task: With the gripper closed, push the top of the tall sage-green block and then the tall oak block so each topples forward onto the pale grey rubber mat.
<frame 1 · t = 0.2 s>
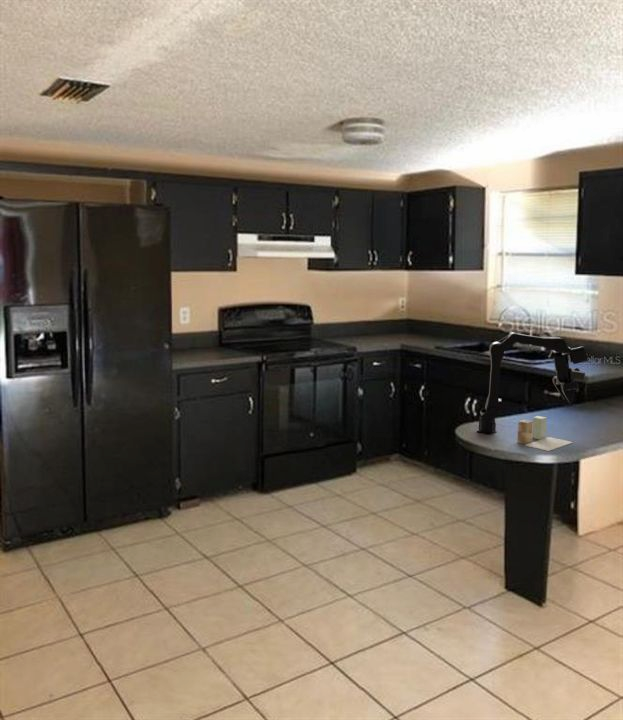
hand: (568, 401, 295), 15 cm above the worktop, tool pointing down, fingers open, 9 cm apart
sage block: (538, 437, 294), on the worktop
mat: (548, 444, 284), on the worktop
oak block: (524, 442, 286), on the worktop
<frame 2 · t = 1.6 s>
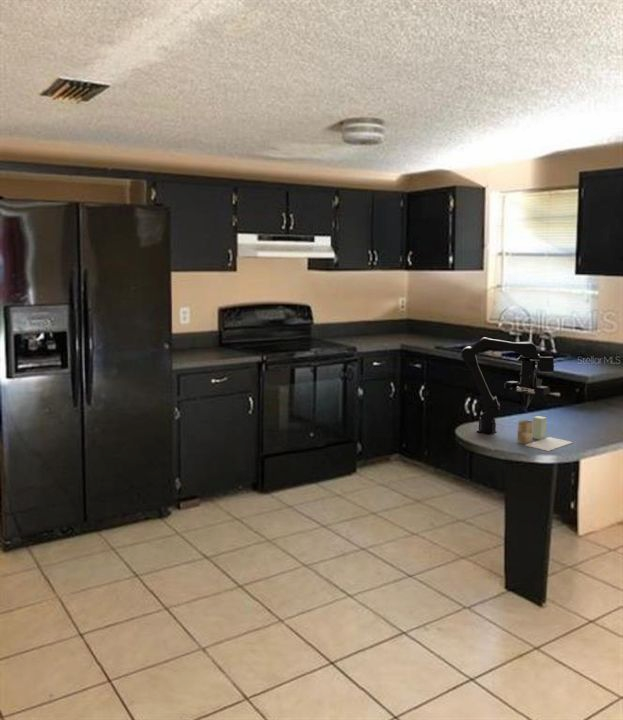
hand: (525, 407, 297), 12 cm above the worktop, tool pointing down, fingers closed
nothing on the worktop moved.
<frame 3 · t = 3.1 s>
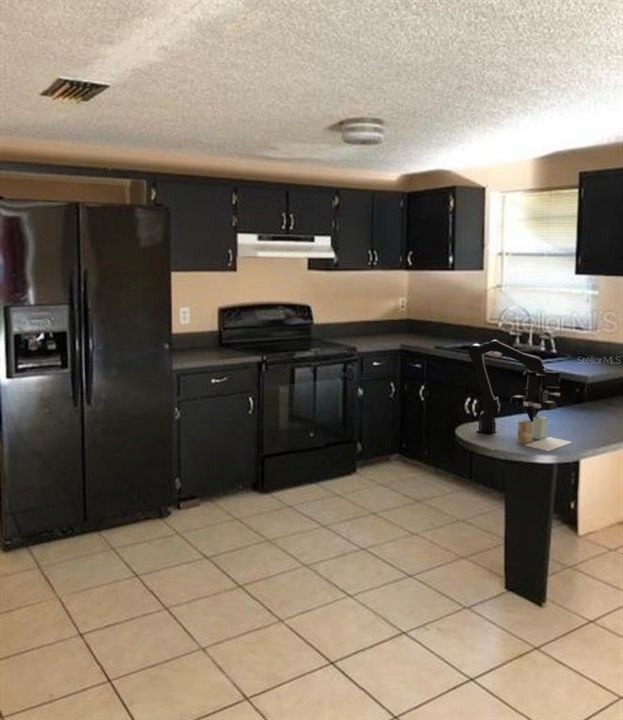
hand: (532, 422, 295), 6 cm above the worktop, tool pointing down, fingers closed
sage block: (538, 437, 294), on the worktop, touching gripper
everything else where it was.
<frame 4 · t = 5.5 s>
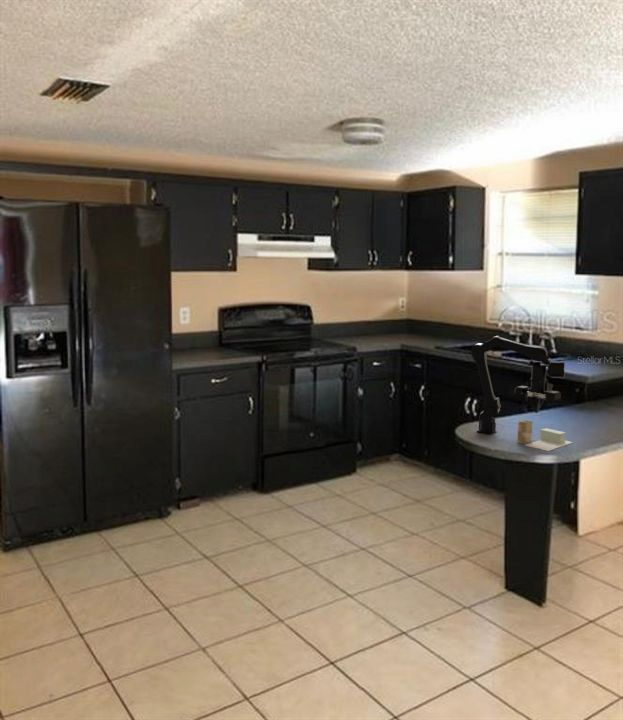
hand: (536, 412, 293), 11 cm above the worktop, tool pointing down, fingers closed
sage block: (543, 433, 292), point 2 cm above the worktop, tilted 90°, touching mat
everything else where it was.
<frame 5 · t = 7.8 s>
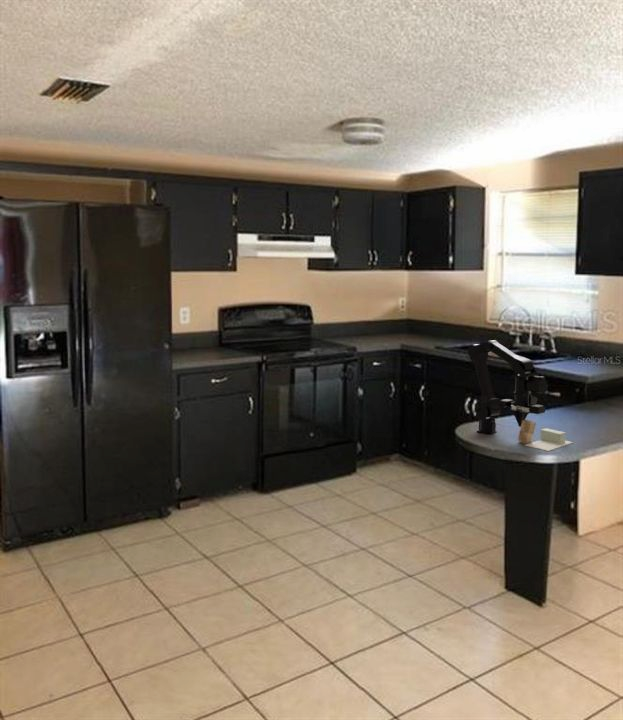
hand: (520, 426, 287), 6 cm above the worktop, tool pointing down, fingers closed
oak block: (524, 441, 286), on the worktop, tilted 11°
everything else where it was.
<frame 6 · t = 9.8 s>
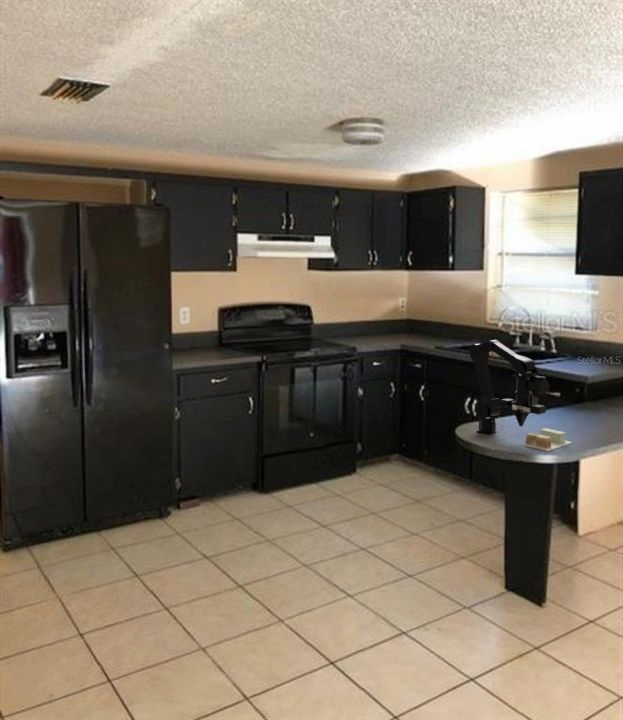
hand: (521, 426, 287), 6 cm above the worktop, tool pointing down, fingers closed
oak block: (528, 438, 285), point 2 cm above the worktop, tilted 90°, touching mat
everything else where it was.
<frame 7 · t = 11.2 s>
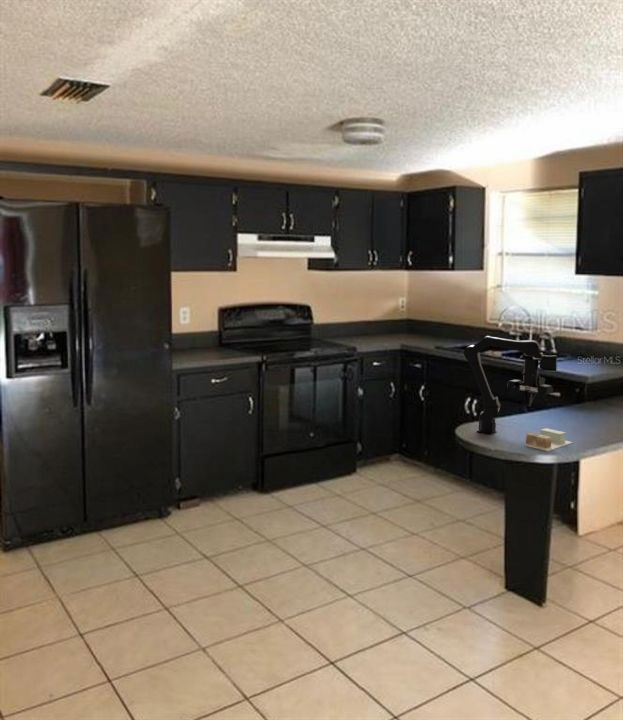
hand: (528, 406, 295), 13 cm above the worktop, tool pointing down, fingers closed
nothing on the worktop moved.
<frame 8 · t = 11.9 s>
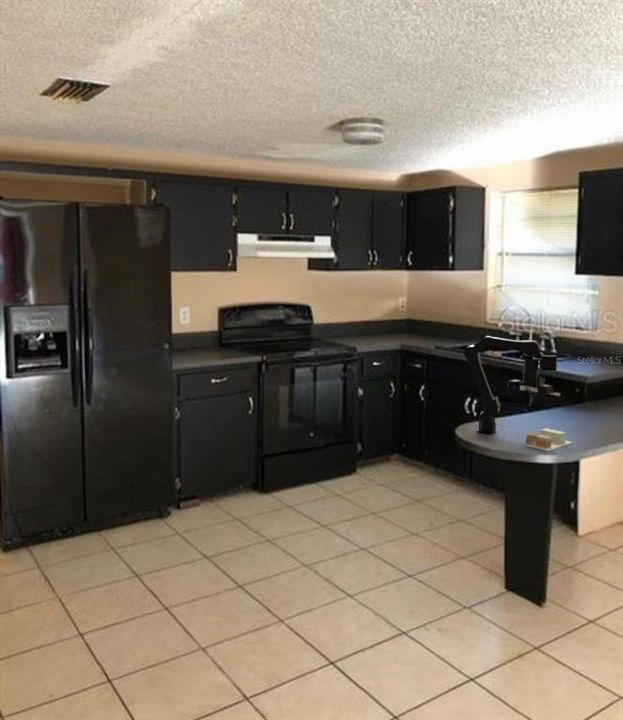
hand: (528, 406, 295), 13 cm above the worktop, tool pointing down, fingers closed
nothing on the worktop moved.
at the end: sage block tilted 90°; oak block tilted 90°; sage block inside the target area (5.6 cm from its centre), point 2.3 cm above the worktop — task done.
